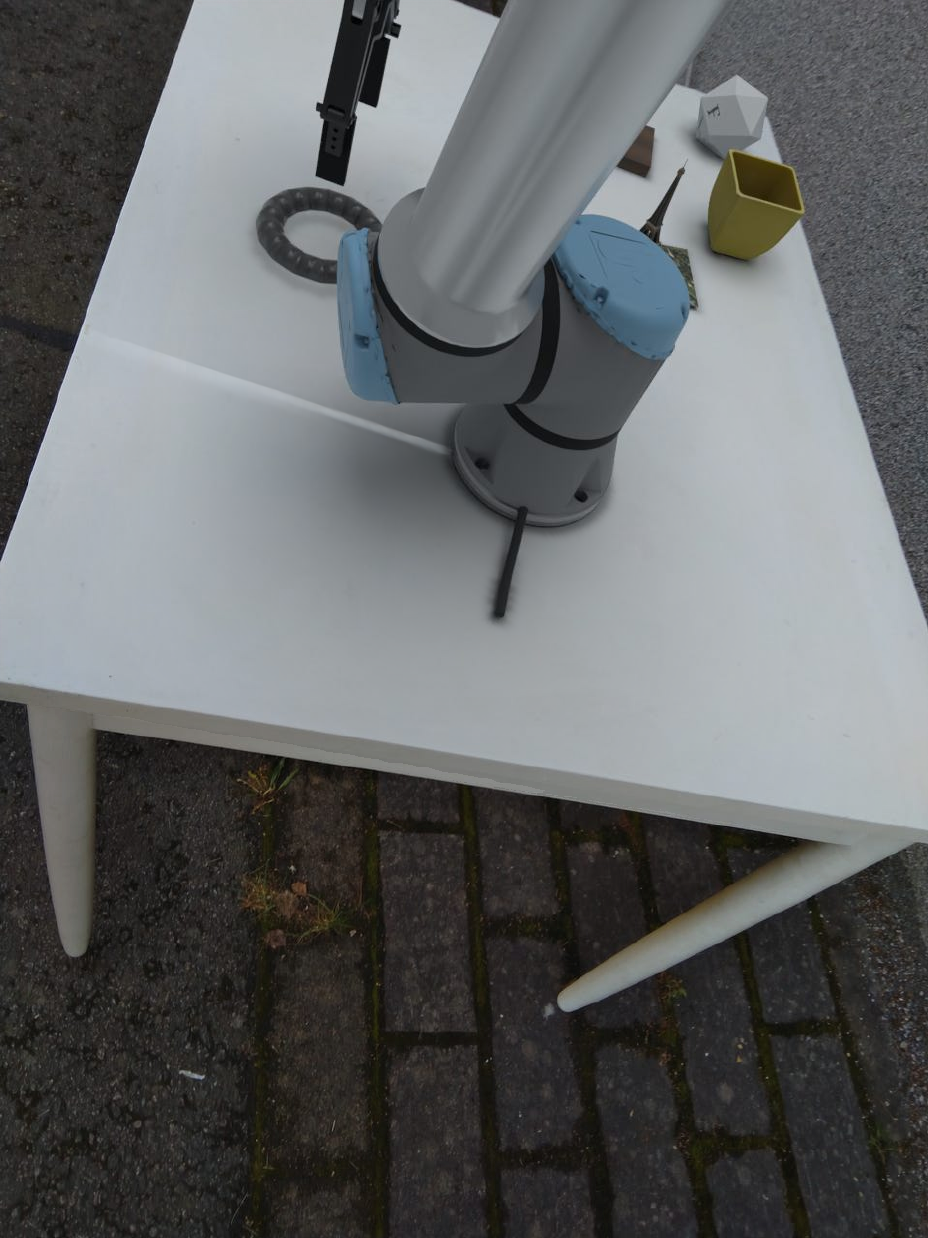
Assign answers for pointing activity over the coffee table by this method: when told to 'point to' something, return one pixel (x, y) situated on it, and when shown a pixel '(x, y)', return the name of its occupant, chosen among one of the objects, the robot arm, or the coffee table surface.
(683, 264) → the eiffel tower figurine
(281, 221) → the grey ribbed ring
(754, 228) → the flower pot
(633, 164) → the wooden peg stand
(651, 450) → the coffee table surface
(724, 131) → the die
